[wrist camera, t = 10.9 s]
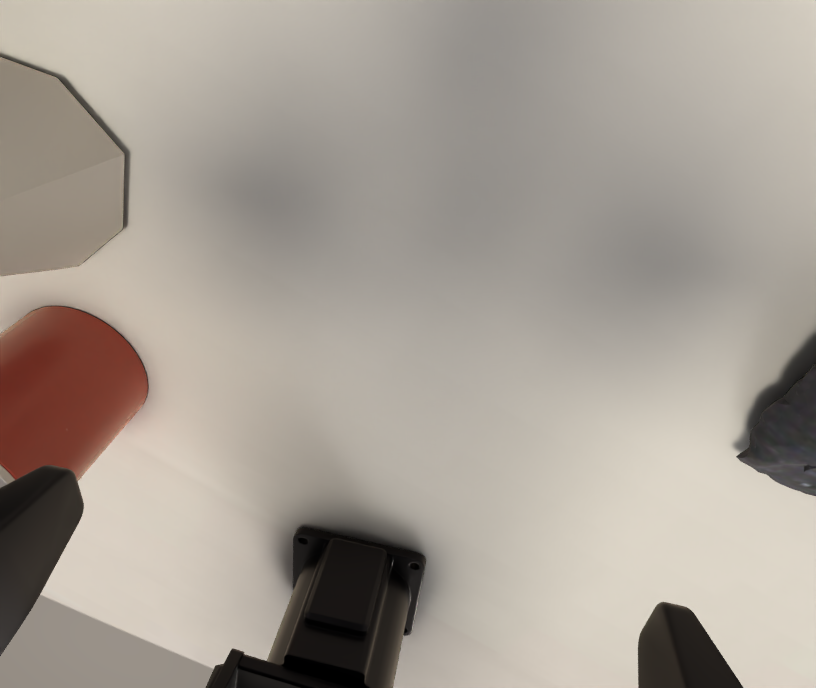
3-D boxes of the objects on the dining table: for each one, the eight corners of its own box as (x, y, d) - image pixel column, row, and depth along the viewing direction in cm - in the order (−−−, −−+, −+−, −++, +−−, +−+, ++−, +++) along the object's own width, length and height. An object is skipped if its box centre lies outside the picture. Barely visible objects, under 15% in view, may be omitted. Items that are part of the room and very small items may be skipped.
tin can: (156, 430, 28) (48, 568, 22) (35, 404, 29) (-104, 532, 22) (137, 320, 25) (3, 447, 18) (1, 293, 25) (-175, 408, 19)
